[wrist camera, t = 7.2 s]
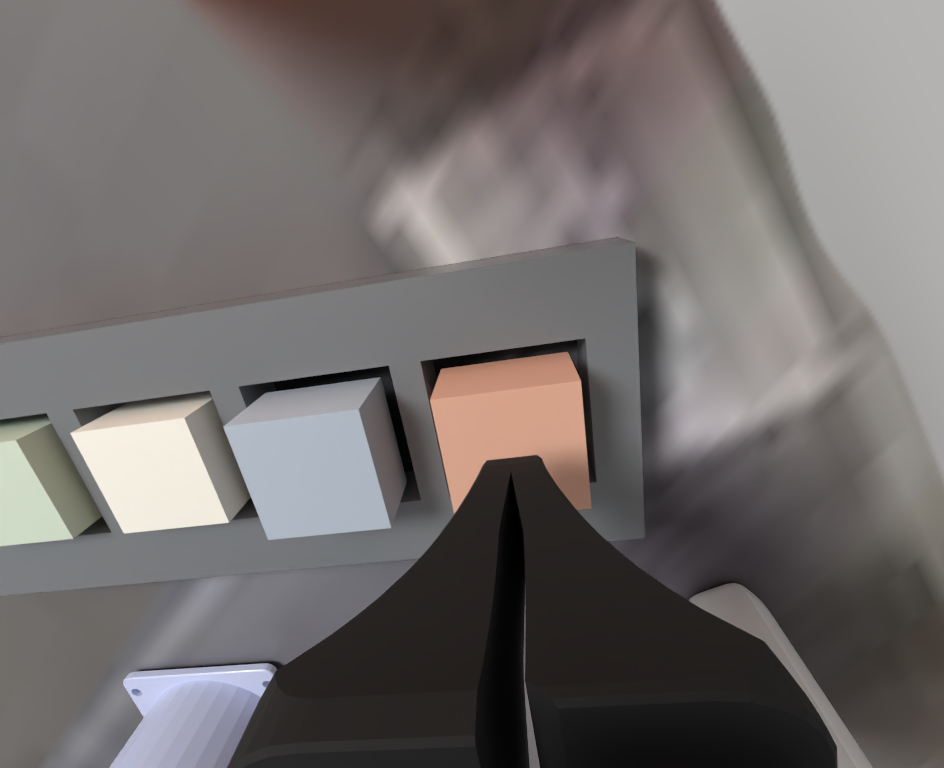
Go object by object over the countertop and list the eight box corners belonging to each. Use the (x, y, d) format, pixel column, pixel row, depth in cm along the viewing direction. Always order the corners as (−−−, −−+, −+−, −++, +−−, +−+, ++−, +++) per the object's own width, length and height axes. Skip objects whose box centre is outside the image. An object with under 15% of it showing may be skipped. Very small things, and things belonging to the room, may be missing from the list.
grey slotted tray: (629, 503, 18) (645, 538, 16) (42, 560, 21) (-4, 595, 19) (617, 237, 14) (634, 242, 12) (-90, 351, 17) (-162, 369, 15)
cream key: (264, 481, 18) (229, 522, 16) (171, 491, 18) (123, 533, 16) (228, 387, 16) (184, 418, 14) (129, 401, 17) (69, 433, 15)
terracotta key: (578, 463, 15) (591, 508, 13) (462, 475, 16) (455, 521, 14) (567, 351, 14) (580, 380, 12) (441, 368, 15) (429, 400, 12)
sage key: (127, 496, 19) (73, 538, 16) (40, 506, 19) (-24, 548, 17) (81, 408, 17) (15, 440, 15) (-11, 421, 18) (-89, 454, 15)
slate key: (406, 481, 16) (391, 528, 14) (300, 493, 17) (268, 540, 14) (380, 376, 15) (358, 409, 12) (265, 392, 15) (222, 426, 13)
